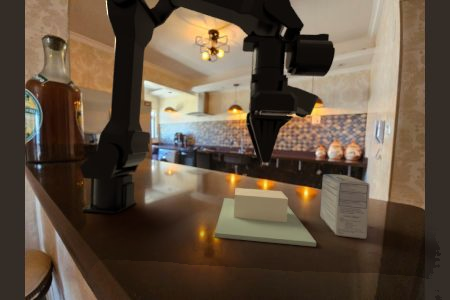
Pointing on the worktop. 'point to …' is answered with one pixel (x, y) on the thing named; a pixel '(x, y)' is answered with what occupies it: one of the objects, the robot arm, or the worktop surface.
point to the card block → (260, 205)
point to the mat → (262, 228)
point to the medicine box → (345, 205)
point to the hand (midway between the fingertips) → (262, 160)
